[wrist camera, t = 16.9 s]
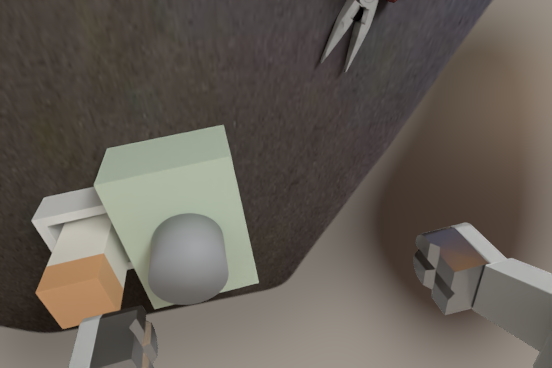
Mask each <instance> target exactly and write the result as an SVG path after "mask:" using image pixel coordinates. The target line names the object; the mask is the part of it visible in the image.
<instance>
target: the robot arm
mask: <svg viewBox="0 0 552 368" xmlns="http://www.w3.org/2000/svg"><path fill="white" fill-rule="evenodd" d="M416 245H417V247H418V248H419V250H418V251H417V252H416V253H415V254H414V267H415V272H416V274H417V276H418V278H419V279H420V281H421V282H422V284H423V285H424V286H426V287H429V288H430V289H432V298H433V299H434V301H435V302H436V303H437V305H438V306H439V308H440V309H441V310H442V312H443V313H444V314H445V315H447V314H451V313H455V312H459V311H463V310H467V309H471V308H473V311H475V312H477V313H478V314H480V315H482V316H483V317H485V318H487V319H488V320H490V321H491V322H493V323H494V324H496V325H498V326H499V327H501V328H503V329H504V330H506V331H507V332H509V333H511V334H512V335H514V336H515V337H517V338H519V339H521V340H522V341H524V342H525V343H527V344H528V345H530V346H532V347H533V348H535V349H537V350H538V351H540V353H539V355H538V357H537V359H536V361H535V363H534V365H533V368H552V274H551V273H549V272H546V271H544V270H541V269H539V268H536V267H534V266H531V265H528V264H526V263H523V262H520V261H518V260H516V259H513V258H510V259H506V258H505V257H504V256H503V255H502V254H501V253H500V252H499V251H498V250H497V249H496V248H495V247H494V246H493V245H492V244H491V243H490V242H489V241H488V240H487V239H486V238H484V237H483V236H482V235H481V234H480V233H479V232H478V231H477V230H476V229H475V228H474V227H473V226H472V225H471V224H469V223H462V224H458V225H454V226H450V227H445V228H442V229H438V230H434V231H430V232H427V233H423V234H419V235H418V237H417V238H416ZM157 352H158V345H157V336H156V333H155V329H154V327H153V325H152V323H150V322H148V321H146V311H145V310H144V308H143V306H136V307H131V308H127V309H123V310H118V311H114V312H109V313H105V314H101V315H97V316H93V317H89V318H84V319H83V320H82V322H81V323H80V325H79V329H78V333H77V337H76V340H75V345H74V348H73V351H72V355H71V359H70V363H69V367H68V368H154V367H153V365H152V364H153V362H154V361H155V359H156V358H157Z"/></svg>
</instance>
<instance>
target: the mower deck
mask: <svg viewBox="0 0 552 368" xmlns="http://www.w3.org/2000/svg"><path fill="white" fill-rule="evenodd" d="M104 213H107V214H108V216H109V218H110V220H111V222H112V224H113V226H114V228H115V230H116V232H117V234H118V236H119V238H120V240H121V242H122V244H123V246H124V248H125V250H126V252H127V254H128V256H129V260H128V266H127V270H128V269H133V268H134V269H135V271H136V273H137V275H138V277H139V279H140V281H141V283H142V285H143V287H144V289H145V291H146V293H147V295H148V297H149V299H150V301H151V303H152V305H153V307H154V309H158V308H162V307H166V306H170V305H174V304H179V305H190V304H196V303H200V302H204V301H206V300H208V299H210V298H212V297H214V296H215V295H217V294H218V293H221V292H225V291H229V290H233V289H236V288H240V287H244V286H248V285H252V284H256V283H259V280H258V276H257V271H256V267H255V262H254V258H253V253H252V249H251V244H250V240H249V235H248V231H247V226H246V222H245V217H244V213H243V208H242V204H241V199H240V195H239V190H238V186H237V181H236V177H235V172H234V168H233V163H232V158H231V154H230V150H229V146H228V142H227V137H226V133H225V129H224V125H220V126H215V127H210V128H205V129H200V130H195V131H190V132H185V133H181V134H176V135H171V136H166V137H161V138H156V139H151V140H146V141H141V142H137V143H132V144H127V145H122V146H117V147H112V148H107V150H106V153H105V156H104V158H103V161H102V164H101V167H100V169H99V172H98V175H97V178H96V180H95V183H94V187H91V188H86V189H81V190H77V191H72V192H67V193H63V194H58V195H53V196H49V197H44V198H43V200H42V202H41V204H40V206H39V208H38V209H37V211H36V213H35V215H34V217H33V219H32V223H33V224H34V226H35V227H36V229H37V230H38V232H39V233H40V235H41V237H42V238H43V240H44V241H45V243H46V244H47V246H48V247H49V249H50V250H51V252H53V250H54V247H55V245H56V243H57V240H58V238H59V236H60V233H61V231H62V228H63V226H64V224H65V222H68V221H73V220H77V219H82V218H86V217H91V216H95V215H100V214H104Z"/></svg>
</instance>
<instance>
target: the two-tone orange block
mask: <svg viewBox="0 0 552 368" xmlns="http://www.w3.org/2000/svg"><path fill="white" fill-rule="evenodd" d="M128 260H129V256H128V254H127V252H126V250H125V248H124V246H123V244H122V242H121V240H120V238H119V236H118V234H117V232H116V230H115V228H114V226H113V224H112V222H111V220H110V218H109V216H108V214H107V213H104V214H100V215H95V216H91V217H86V218H82V219H77V220H73V221H68V222H65V224H64V226H63V228H62V231H61V233H60V236H59V238H58V240H57V243H56V245H55V247H54V250H53V252H52V255H51V257H50V259H49V262H48V264H47V266H46V269H45V271H44V274H43V276H42V278H41V281H40V283H39V285H38V288H37V290H36V294H37V296H38V297H39V298H40V300H41V301H42V302H43V304H44V305H45V306H46V308H47V309H48V310H49V312H50V313H51V314H52V316H53V317H54V318H55V320H56V321H57V322H58V324H59V325H60V326H61V328H62V329H65V328H69V327H73V326H77V325H80V323H81V322H82V320H83V319H84V318H89V317H93V316H97V315H101V314H105V313H109V312H114V311H118V310H120V308H121V302H122V296H123V290H124V284H125V278H126V272H127V266H128Z"/></svg>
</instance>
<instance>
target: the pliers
mask: <svg viewBox="0 0 552 368" xmlns="http://www.w3.org/2000/svg"><path fill="white" fill-rule="evenodd" d="M386 1H389V2H393V3H394V2H396V1H397V0H386ZM377 3H378V0H347V1H346V3H345V4H344V6H343V8H342V10H341V11H340V13H339V15H338V17H337V19H336V22H335V24H334V27H333V30H332V32H331V35H330V37H329V40H328V43H327V45H326V48H325V50H324V53H323V56H322V58H321V61H320V63H323V61H324V60H325V59H326V57H327V56H328V55H329V53H330V52H331V51H332V49H333V48H334V47H335V45H336V44H337V43H338V41H339V40H340V39H341V37H342V36H343V35H344V33H345V32H346V31H347V29H348V28H349V26H350V25H351V23H352V22H353V20H352V19H353V18H354V16H355V15H356V13H357V12H358V10H359V9H360V7H361V8H362V9H363V16H362V18H361V19H360V20H359V21H355V24H354V28H353V31H352V35H351V40H350V44H349V49H348V54H347V59H346V63H345V68H344V72H345V73H346V72H347V70H348V68H349V66H350V64H351V62H352V60H353V58H354V57H355V55H356V53H357V51H358V49H359V47H360V45H361V43H362V42H363V40H364V38H365V36H366V34H367V32H368V30H369V28H370V25H371V22H372V20H373V17H374V14H375V10H376V7H377Z"/></svg>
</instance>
